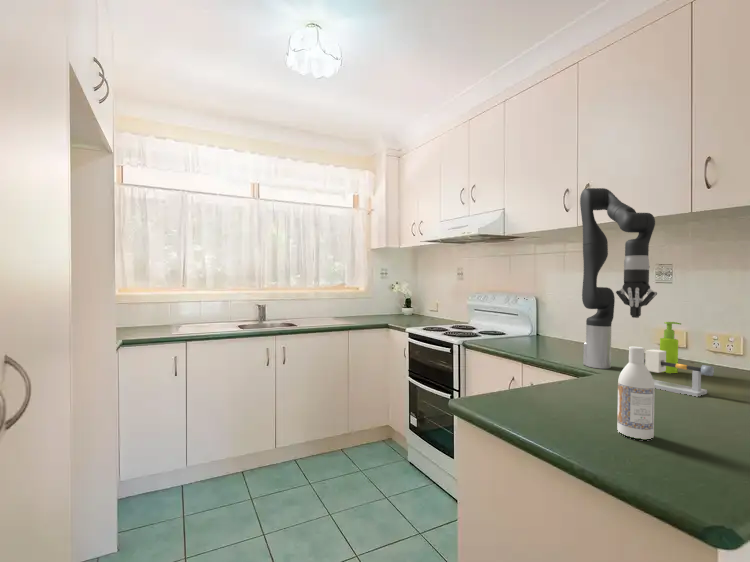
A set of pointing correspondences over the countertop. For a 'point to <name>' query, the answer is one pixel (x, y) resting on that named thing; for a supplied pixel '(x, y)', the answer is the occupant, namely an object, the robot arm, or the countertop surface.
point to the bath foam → (636, 397)
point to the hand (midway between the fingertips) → (635, 317)
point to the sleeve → (655, 360)
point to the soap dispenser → (670, 347)
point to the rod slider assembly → (696, 380)
